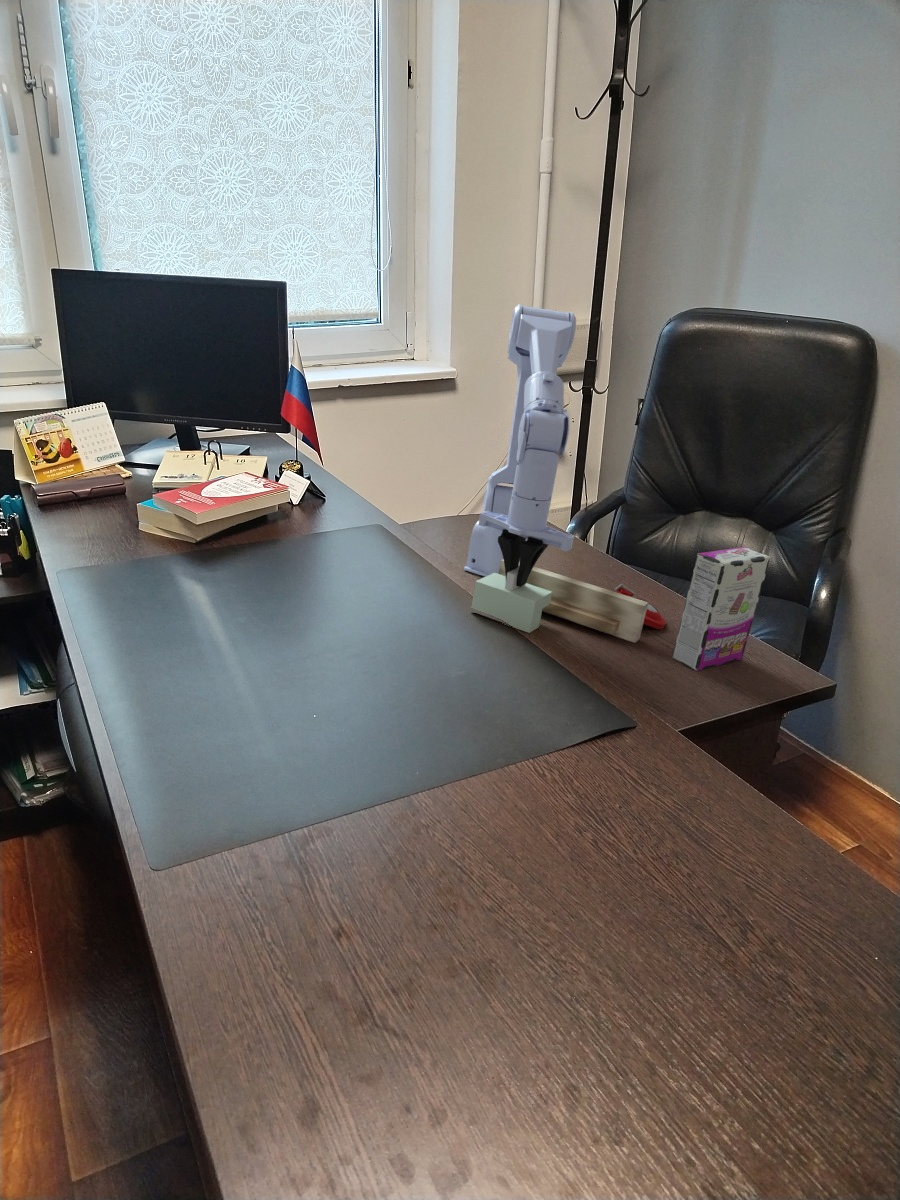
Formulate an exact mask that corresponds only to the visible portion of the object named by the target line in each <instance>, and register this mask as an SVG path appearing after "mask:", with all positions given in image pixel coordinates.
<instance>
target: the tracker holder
mask: <svg viewBox="0 0 900 1200" xmlns="http://www.w3.org/2000/svg"><path fill="white" fill-rule="evenodd" d="M614 590H615V592H617V593H620V594H623V595H626V596H629V597H632V598H634V597H633V596H634V595H636V592H635V591H633V590H632V589H630V588H628V586H626V585H625V584H623V583H621V584H619V585H618V586H617V587H616V588H614ZM635 598H636V599H639V600H642V601H645V602H647V600H644V599H641V598H638V597H635ZM643 625H645V626H648V627H651V628H653V629H657V630H663V629H664V628H665V626H666V620H665V618H664V617H663V616H662V615H661V613H660V612H659V611H658V609H656V607H655V606H654V605H652V604H650V603H649V602H648V606H647V610H646V614H645V619H644V623H643Z"/></svg>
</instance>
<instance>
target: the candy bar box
mask: <svg viewBox="0 0 900 1200" xmlns="http://www.w3.org/2000/svg"><path fill="white" fill-rule="evenodd" d="M770 560H771V556H769V555H767V554H764V553H761V552H759V551H757V550H755V549H751V548H749V547H745V546H741V547H734V548H727V549H720V550H712V551H707V552H706V551H705V552H698V553H697V555H696V558H695V563H694V567H693V572H692V576H691V579H690V583H689V587H688V591H687V594H686V595H687V596H686V601H685V604H684V608H683V612H682V615H681V619H680V623H679V628H678V632H677V636H676V640H675V644H674V648H673V653H672V655H671V657H672V659H673V660H675V661H677V663H680V664H682V665H684V666H686V667H688V668H690V669H692V670H693V671H696V672H699V671H703V670H707V669H708V670H709V669H710V668H711V669H712V668H714V667H718V666H721V665H726V664H728V663H733V662H737V661H739V660H742V659H743V656H744V654H745V650H746V645H747V642H748V639H749V634H750V631H751V627H752V624H753V620H754V617H755V615H756V610H757V606H758V603H759V599H760V597H761V593H762V588H763V585H764V582H765V578H766V576H767V575H766V574H767V570H768V568H769V563H770Z"/></svg>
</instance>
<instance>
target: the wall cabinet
mask: <svg viewBox="0 0 900 1200" xmlns="http://www.w3.org/2000/svg"><path fill="white" fill-rule="evenodd" d="M518 570H519V567H518V568H516V569H514V570H512V571H510V572H508V573H507V578H506V576H503V575H500V574H497V573H492V574H490V575H488V576H486V577H484V576H483V577H481V578H480V579H477V580H476V581H475V583H474V588H473V589H474V590H473V595H472V602H471V607H470V609H471V608H473V609H475V610H478V611H481V612H484V613H486V614H489V615H492V616H494V617H496V618H499V619H501V620H503V621H504V622H506V623H508V624H510V625H511V626H513V627H512V628H515V629H518V630H520V631H522V632H526V633H529V634H530V633H532V632H533V631H535V630H536V629H538V628H539V627H540V623H541V618H542V613H543V611H542V609H543V608H544V607H546V606H547V605H549V604H550V601H551V596H552V591H549V590H546V589H543V588H540V587H536V586H533V585H530V584H527V583H526V584H525V585H523V586H521V587H519V586H516V582H517V575H518ZM511 626H510V627H511Z"/></svg>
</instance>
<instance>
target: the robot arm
mask: <svg viewBox="0 0 900 1200" xmlns="http://www.w3.org/2000/svg"><path fill="white" fill-rule="evenodd" d="M576 328H577V318H576V316H575V313H574V312H573V311H569V312H565V311H557V310H553V309H545V308H538V307H531V306H525V305H523V304H520V303H519V304H517V305H516V306H515V307H514V308H513V311H512V316H511V321H510V326H509V335H508V337H509V338H508V345H507V353H508V356H507V360H509V361H511V362H512V363H513V364H515V365H516V371H517V384H516V391H515V392H516V394H515V401H514V408H513V414H512V422H511V429H510V435H509V443H508V450H507V451H508V452H507V457H506V464H505V465H504V466H502V467H501V468H499V469H497V470H495V471H493V472H491V474H490V476H488V478H487V482H486V486H485V487H486V488H485V491H484V497H483V502H482V512H480V513H479V520H477V522H476V523H475V524H474V526H473V528H472V532H471V535H470V539H469V548H468V553H467V560H466V565H465V566H464V567H463V570H464V571H466V572H469V573H473V574H476V575H479V576H482V577H483V578H484V577H486V576H488V575H490V574H492V573H497V574H498V573H499V568H500V562H501V560H503V559H504V565H505V576H506V578H507V573H508V572H510V571H512V570H514V569H516V568H518V566H519V570H518V575H517V582H516V586H519V587H521V586H523V585H525V584H526V582H527V579H528V577H529V575H530V572H531V570H532V568H533V567H535V564H536V563H537V561H538V560H539V558H540V557H541V556H542V554H543V553H544V552H545V551H546V549H547V548H548V546H552V547H555V548H558V549H560V551H563V552H569V551H570V550H572V548H573V545H574V540H575V536H574V535H571V534H567V533H565V532H562V531H560V530H557V529H555V528H554V527H551V526H549V525H547V523H548V518H549V514H550V513H549V512H550V507H551V503H552V498H553V497H552V496H553V493H554V487H555V481H556V476H557V470H558V466H559V461H560V456H563V455H564V453H565V450H566V447H567V443H568V439H569V433H570V416H569V413H568V410H567V409H565V407H564V405H565V403H564V401H565V399H564V398H565V397H564V396H565V395H564V394H565V393H564V392H565V391H564V390H565V389H564V382H563V379H562V378H561V377H560V376H559V375H557V371H558V368H561V367H562V366H563V363H564V362H565V361H566V359H567V356H568V355H569V353H570V351H571V348H572V346H573V343H574V339H575V336H576V335H575V334H576ZM558 453H559V454H558ZM559 455H560V456H559ZM501 484H507V485H501ZM509 485H513V486H509ZM519 562H520V564H519Z"/></svg>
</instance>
